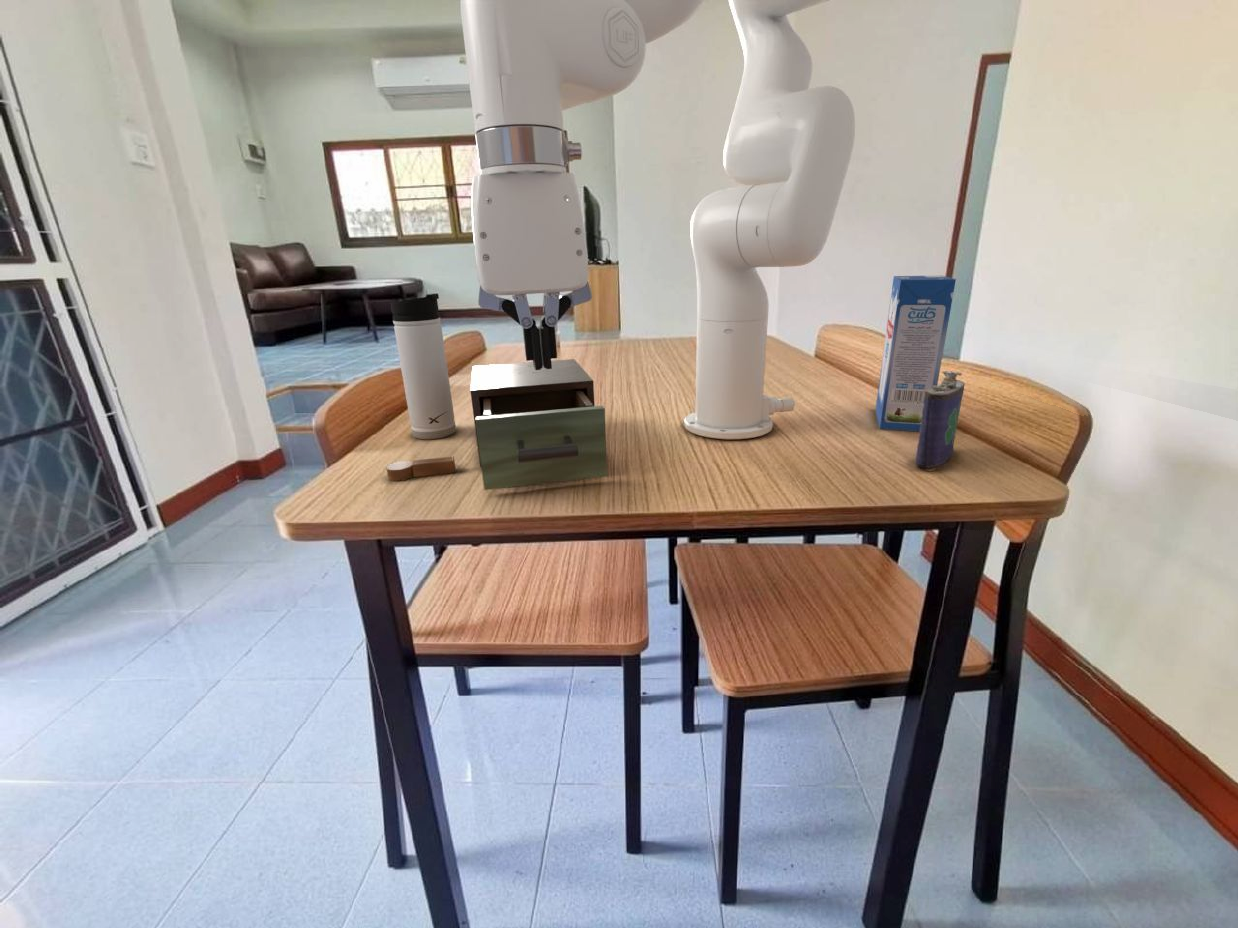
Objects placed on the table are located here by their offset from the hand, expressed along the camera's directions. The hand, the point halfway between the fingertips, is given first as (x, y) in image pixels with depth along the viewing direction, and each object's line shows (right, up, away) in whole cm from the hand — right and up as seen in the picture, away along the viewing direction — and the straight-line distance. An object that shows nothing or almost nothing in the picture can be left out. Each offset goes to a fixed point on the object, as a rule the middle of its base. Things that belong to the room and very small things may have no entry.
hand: (542, 366), depth 56 cm
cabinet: (-4, -7, +23) cm, 24 cm away
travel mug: (-20, -5, +28) cm, 35 cm away
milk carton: (+49, -4, +27) cm, 56 cm away
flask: (+46, -9, +12) cm, 48 cm away
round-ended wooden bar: (-16, -11, +13) cm, 23 cm away
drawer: (-1, -10, +11) cm, 15 cm away
